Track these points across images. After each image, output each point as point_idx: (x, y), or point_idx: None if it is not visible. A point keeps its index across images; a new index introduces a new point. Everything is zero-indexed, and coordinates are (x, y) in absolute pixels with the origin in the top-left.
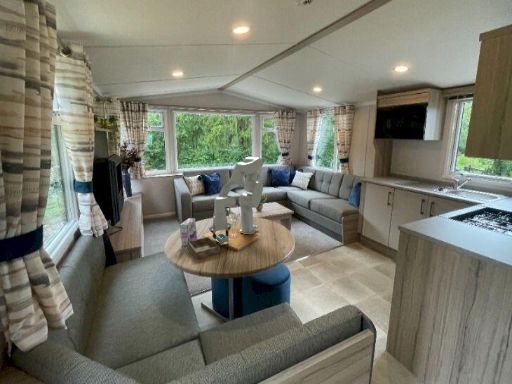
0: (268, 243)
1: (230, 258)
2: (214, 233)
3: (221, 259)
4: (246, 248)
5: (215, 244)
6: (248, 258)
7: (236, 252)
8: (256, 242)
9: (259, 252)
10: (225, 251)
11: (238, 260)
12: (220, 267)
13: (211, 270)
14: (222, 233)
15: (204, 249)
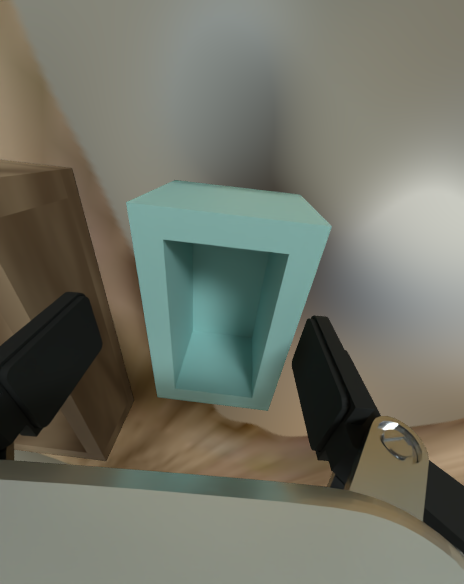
0: (457, 466)
1: (169, 449)
2: (5, 438)
3: (123, 436)
4: (308, 439)
5: (75, 432)
6: (241, 478)
7: (228, 436)
8: (434, 432)
9: (320, 479)
10: (175, 402)
11: (194, 468)
12: (103, 461)
13: (63, 457)
14: (300, 250)
15: (5, 323)
